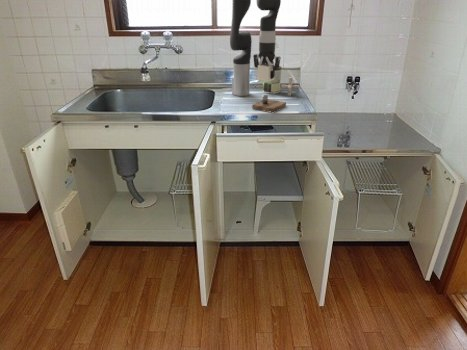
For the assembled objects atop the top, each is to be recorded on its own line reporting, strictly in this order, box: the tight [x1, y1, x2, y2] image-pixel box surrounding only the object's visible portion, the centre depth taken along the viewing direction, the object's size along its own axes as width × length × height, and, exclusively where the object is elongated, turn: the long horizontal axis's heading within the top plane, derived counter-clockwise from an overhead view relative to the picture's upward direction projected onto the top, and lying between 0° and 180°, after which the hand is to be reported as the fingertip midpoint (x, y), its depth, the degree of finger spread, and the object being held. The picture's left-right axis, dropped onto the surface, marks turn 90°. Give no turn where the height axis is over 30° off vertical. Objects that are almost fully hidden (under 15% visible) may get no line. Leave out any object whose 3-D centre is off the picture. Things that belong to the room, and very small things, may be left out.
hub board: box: [251, 98, 287, 113], centre depth 175 cm, size 12×13×2 cm
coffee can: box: [262, 65, 282, 95], centre depth 200 cm, size 10×10×14 cm
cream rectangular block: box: [256, 63, 275, 82], centre depth 167 cm, size 6×6×8 cm
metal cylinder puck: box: [261, 94, 269, 104], centre depth 174 cm, size 3×3×4 cm
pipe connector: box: [280, 76, 300, 97], centre depth 193 cm, size 10×10×10 cm
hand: (266, 77), depth 169 cm, fingers closed on cream rectangular block, 6 cm apart
